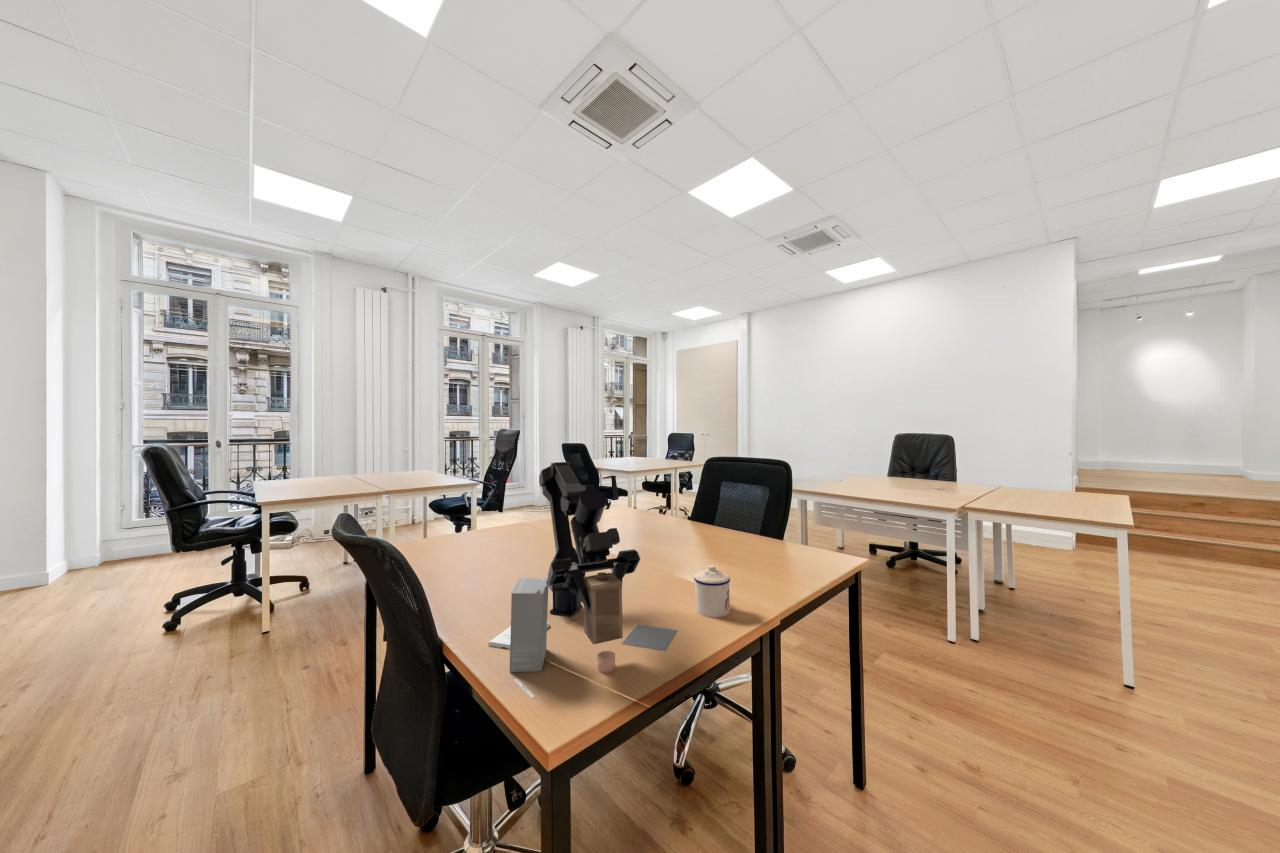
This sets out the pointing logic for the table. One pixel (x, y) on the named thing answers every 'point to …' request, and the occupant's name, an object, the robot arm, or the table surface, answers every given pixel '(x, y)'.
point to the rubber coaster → (650, 637)
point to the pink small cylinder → (606, 662)
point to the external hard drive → (504, 639)
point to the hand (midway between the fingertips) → (604, 605)
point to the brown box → (603, 608)
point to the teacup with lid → (712, 593)
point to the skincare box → (528, 624)
